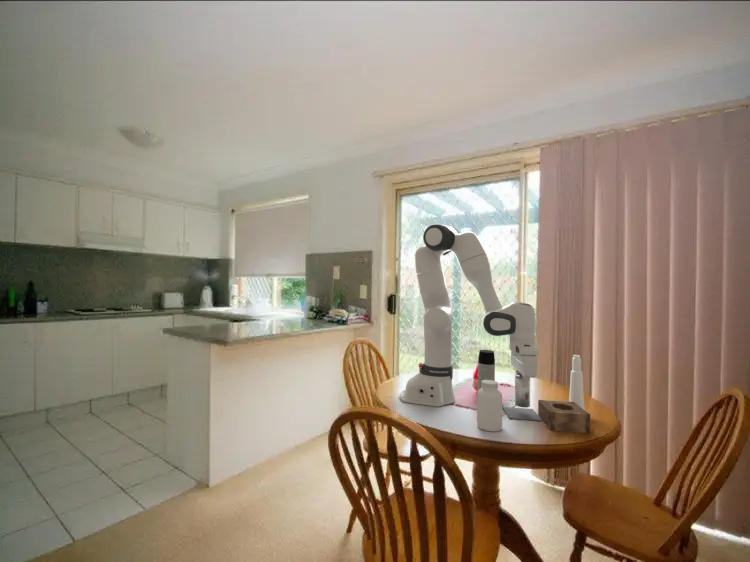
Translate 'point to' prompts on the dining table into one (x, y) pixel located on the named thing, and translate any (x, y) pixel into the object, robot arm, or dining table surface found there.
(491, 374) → the spray can
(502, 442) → the dining table surface
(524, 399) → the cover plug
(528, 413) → the mat
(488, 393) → the pill bottle
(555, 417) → the socket block
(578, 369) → the cosmetic bottle
